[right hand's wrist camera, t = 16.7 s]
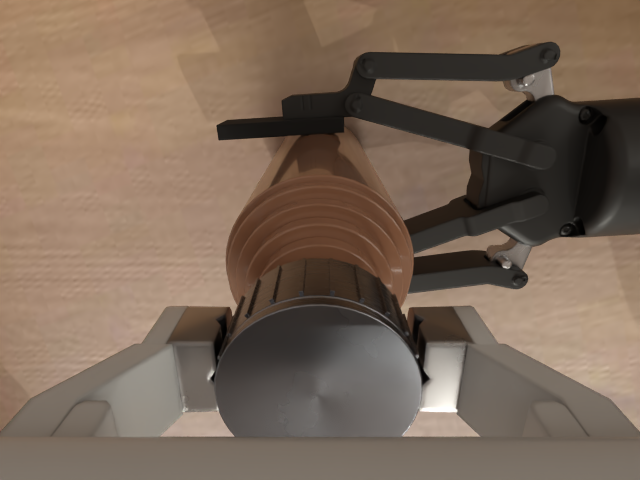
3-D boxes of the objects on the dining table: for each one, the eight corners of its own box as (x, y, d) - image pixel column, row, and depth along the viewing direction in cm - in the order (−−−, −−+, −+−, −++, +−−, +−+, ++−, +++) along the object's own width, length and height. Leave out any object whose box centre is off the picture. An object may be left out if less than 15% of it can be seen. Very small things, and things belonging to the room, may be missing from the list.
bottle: (309, 100, 28) (272, 173, 7) (381, 152, 30) (533, 348, 8) (261, 174, 30) (118, 407, 9) (331, 219, 31) (350, 519, 10)
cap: (198, 342, 10) (169, 405, 8) (307, 218, 9) (303, 258, 7) (328, 427, 11) (329, 500, 9) (442, 325, 10) (470, 385, 8)
